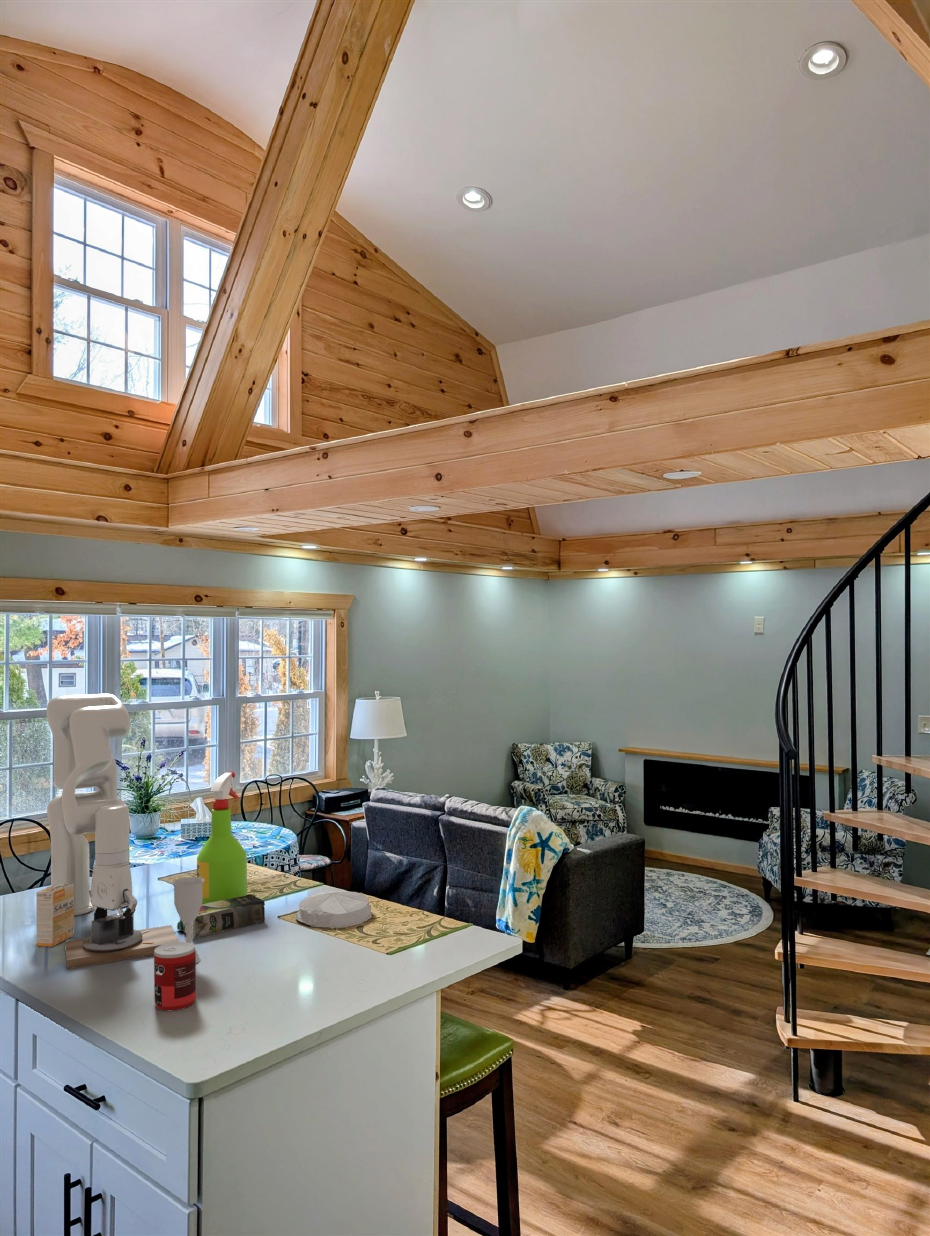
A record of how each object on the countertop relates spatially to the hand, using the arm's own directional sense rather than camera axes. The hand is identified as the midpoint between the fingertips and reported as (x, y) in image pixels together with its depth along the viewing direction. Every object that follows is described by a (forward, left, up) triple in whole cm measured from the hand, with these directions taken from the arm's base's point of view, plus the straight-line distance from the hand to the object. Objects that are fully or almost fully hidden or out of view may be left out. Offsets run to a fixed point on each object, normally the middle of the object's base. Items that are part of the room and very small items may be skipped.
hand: (112, 931), depth 204 cm
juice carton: (-7, +26, -5) cm, 28 cm away
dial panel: (0, +2, -5) cm, 5 cm away
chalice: (+15, +15, -5) cm, 22 cm away
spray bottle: (-32, +32, -5) cm, 46 cm away
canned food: (+38, +9, -5) cm, 39 cm away
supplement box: (-15, -12, -5) cm, 20 cm away
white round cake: (0, +54, -5) cm, 54 cm away
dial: (0, 0, -3) cm, 3 cm away
